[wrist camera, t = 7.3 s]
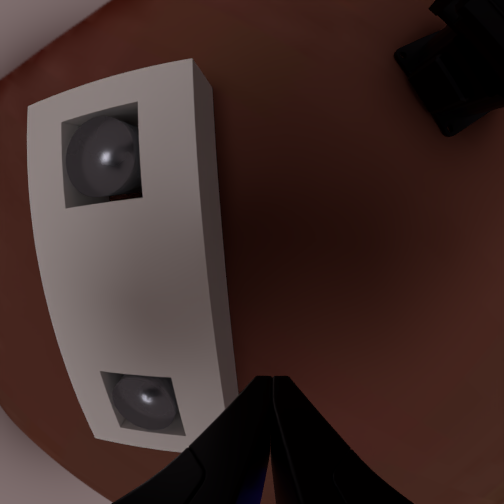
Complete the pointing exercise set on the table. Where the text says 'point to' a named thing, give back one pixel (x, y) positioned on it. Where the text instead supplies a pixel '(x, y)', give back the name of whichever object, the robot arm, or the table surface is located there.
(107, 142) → the near peg
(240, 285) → the table surface
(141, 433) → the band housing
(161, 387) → the far peg
